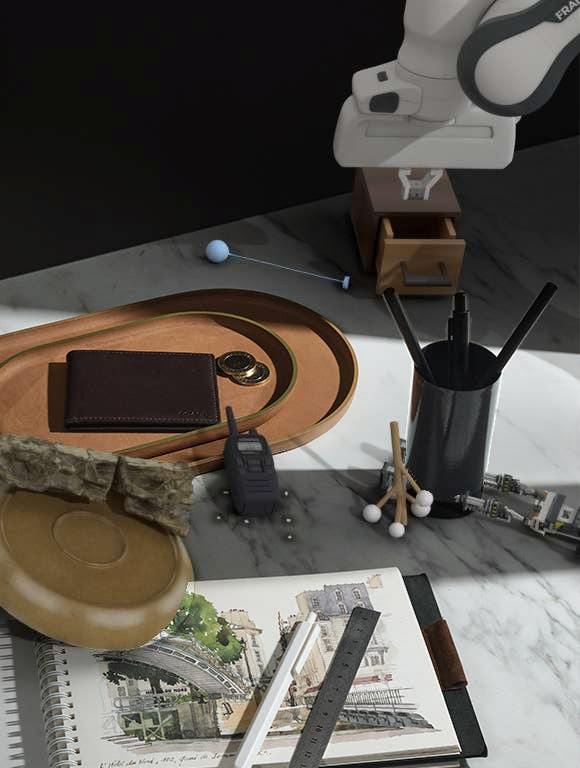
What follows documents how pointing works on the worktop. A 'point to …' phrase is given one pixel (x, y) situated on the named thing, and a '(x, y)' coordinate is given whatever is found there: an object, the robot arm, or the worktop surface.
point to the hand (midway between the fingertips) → (414, 197)
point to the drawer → (417, 255)
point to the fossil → (101, 478)
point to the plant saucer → (88, 569)
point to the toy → (545, 514)
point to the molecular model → (220, 252)
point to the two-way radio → (250, 471)
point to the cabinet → (394, 204)
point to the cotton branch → (400, 492)
